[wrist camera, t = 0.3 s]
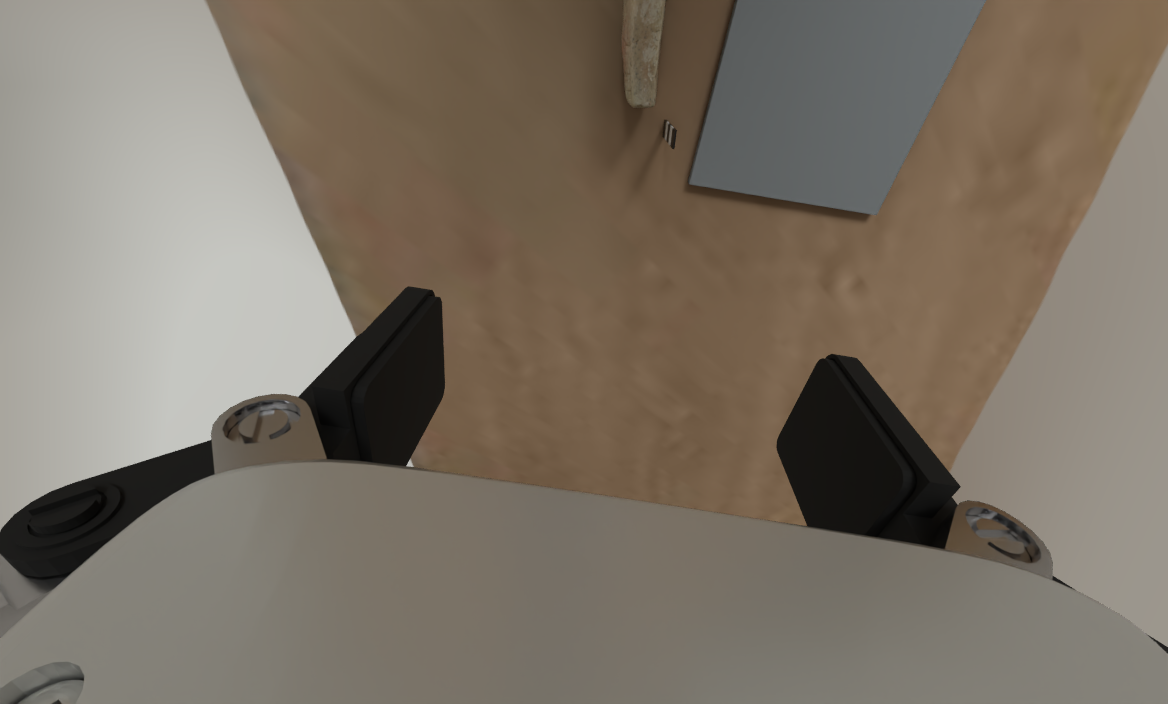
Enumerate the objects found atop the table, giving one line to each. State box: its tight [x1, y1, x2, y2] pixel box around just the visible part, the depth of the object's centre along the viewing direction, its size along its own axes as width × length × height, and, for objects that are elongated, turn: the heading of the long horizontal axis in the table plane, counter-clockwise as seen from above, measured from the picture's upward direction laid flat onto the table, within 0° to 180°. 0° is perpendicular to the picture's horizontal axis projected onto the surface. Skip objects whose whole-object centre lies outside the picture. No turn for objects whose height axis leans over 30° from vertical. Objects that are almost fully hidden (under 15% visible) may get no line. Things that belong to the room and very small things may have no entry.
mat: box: [688, 0, 986, 215], centre depth 31 cm, size 14×15×1 cm
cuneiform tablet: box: [621, 0, 677, 149], centre depth 28 cm, size 6×4×12 cm
